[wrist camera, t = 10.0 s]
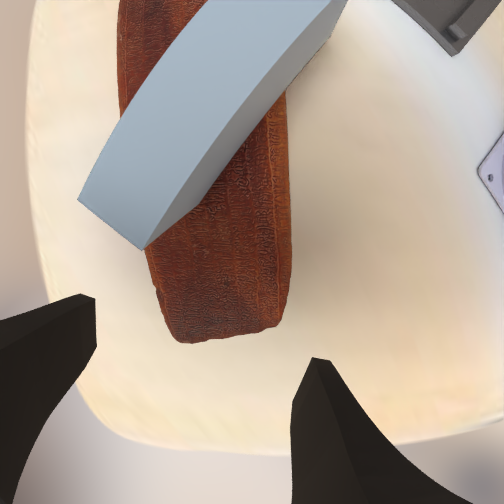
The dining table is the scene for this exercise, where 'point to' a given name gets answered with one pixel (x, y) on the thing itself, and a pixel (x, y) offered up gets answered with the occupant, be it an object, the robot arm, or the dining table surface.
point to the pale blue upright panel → (201, 109)
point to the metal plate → (449, 19)
